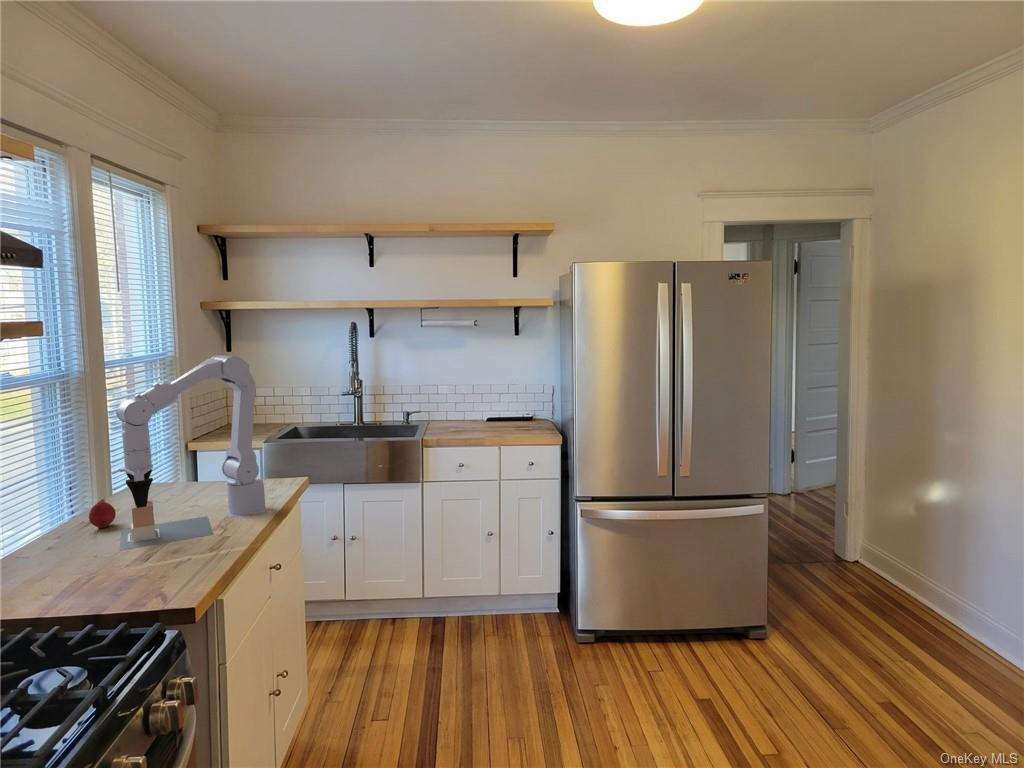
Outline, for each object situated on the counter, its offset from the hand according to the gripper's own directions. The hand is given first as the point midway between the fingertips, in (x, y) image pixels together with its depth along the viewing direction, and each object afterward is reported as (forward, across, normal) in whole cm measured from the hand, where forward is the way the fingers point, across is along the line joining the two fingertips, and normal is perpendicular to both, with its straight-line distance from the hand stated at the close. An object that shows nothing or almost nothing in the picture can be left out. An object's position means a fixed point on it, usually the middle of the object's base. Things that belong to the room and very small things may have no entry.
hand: (141, 502), depth 158 cm
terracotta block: (+6, 0, 0) cm, 6 cm away
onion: (+9, -13, -9) cm, 18 cm away
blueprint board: (+9, 0, +5) cm, 10 cm away
